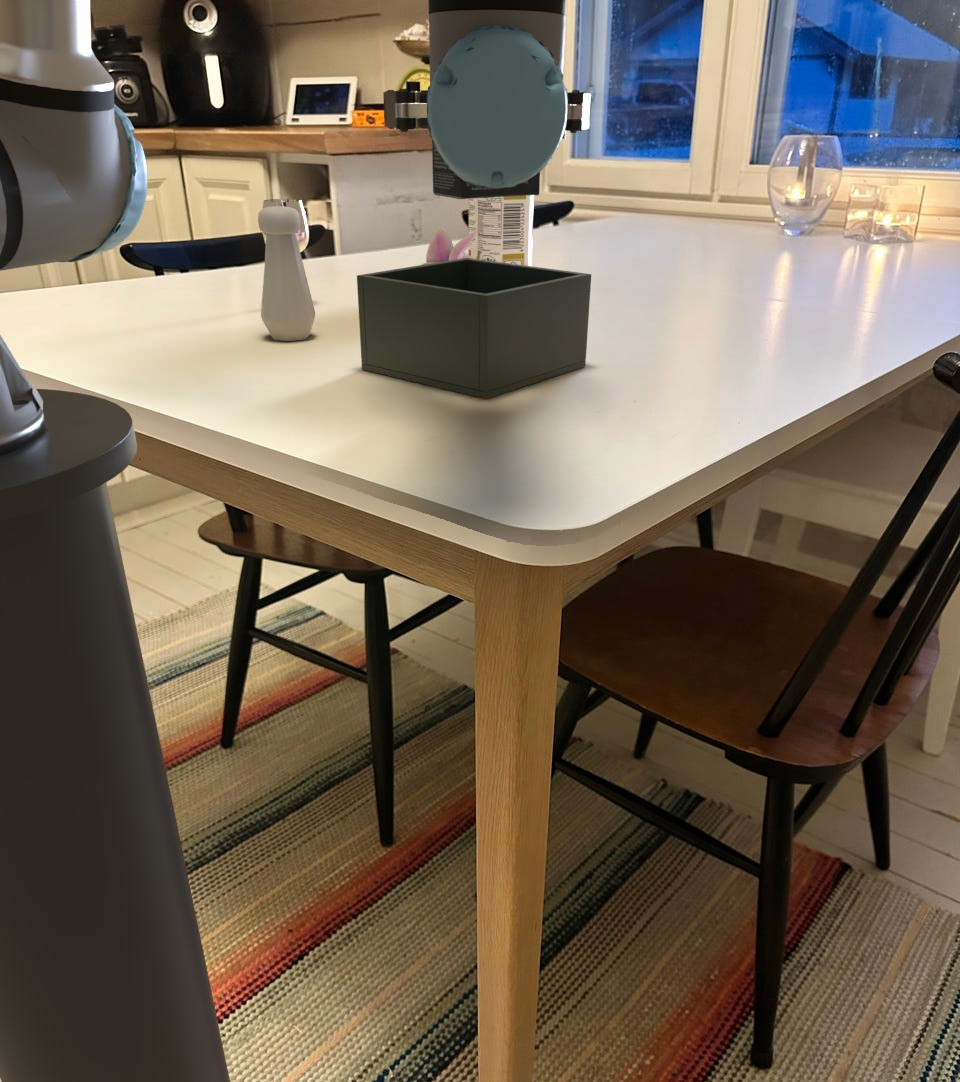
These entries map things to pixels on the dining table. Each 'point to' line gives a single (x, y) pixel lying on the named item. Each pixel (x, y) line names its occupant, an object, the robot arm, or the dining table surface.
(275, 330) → the salt shaker
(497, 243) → the juice carton
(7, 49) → the robot arm
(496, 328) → the open storage bin
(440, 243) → the lily
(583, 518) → the dining table surface
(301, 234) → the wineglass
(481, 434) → the dining table surface
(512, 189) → the box
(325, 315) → the dining table surface
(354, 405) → the dining table surface
